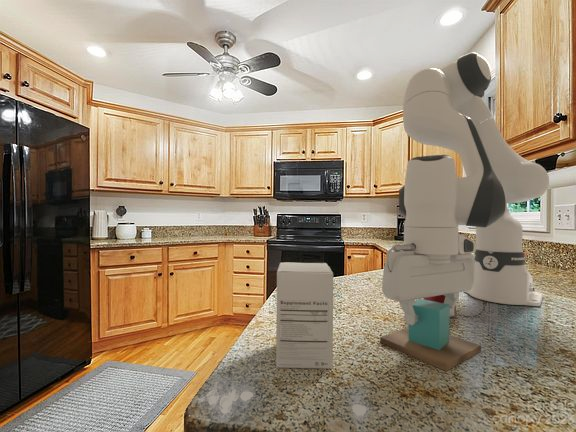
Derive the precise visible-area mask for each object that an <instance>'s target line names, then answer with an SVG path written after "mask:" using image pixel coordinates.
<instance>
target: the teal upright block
mask: <svg viewBox="0 0 576 432" xmlns="http://www.w3.org/2000/svg"><path fill="white" fill-rule="evenodd" d="M412 307H413V309H414V312H415V313H416V314H419V319H418V320H419V323H418V324H414V325H410V324H408V327H409V341H412V342H415V343H418V344H421V345H424V346H428V347H431V348H434V349H437V350H440V349H441V348H442V347H444V346H445V345H446V344H447V343H448V342H449V335H450V317H449V304H444V303H439V302H434V301H429V300H424V299H423V298H420V299H415V305H412Z"/></svg>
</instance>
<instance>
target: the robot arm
mask: <svg viewBox="0 0 576 432" xmlns="http://www.w3.org/2000/svg"><path fill="white" fill-rule="evenodd" d="M491 81H492V72H491V66H490V64H489V62H488V61H487V59H486V58H485V57H483V55H481V54H480V53H477V52H469V53H467V54H465V55H462V56H460V57H458V58H457V59H456V60H455V61H453V62H451V63H450V64H447V65H446V66H444V67H442V68H440V69H437V68H431V67H430V68H425V69H421V70H420V71H418V72H416V73H415V74H414V75H412V77H411V78H410V79H409V81H408V84H407V85H406V90H405V93H404V98H403V107H402V122H403V124H402V125H403V128H404V131H405V133H406V135H407V136H409V138H410V139H411V140H413V141H414V142H416V143H420V144H421V145H425V146H433V147H439V148H442V149H443V148H444V149H448V150H449V151H452V152H455V153H456V154H457V155H458V156H459V158H460V161H461V163H462V167H463V170H464V172H465V176H464V177H458V176H457V169H456V162H455V159H454V157H453V156H450V155H448V154H434V155H425V156H424V155H422V156H415V157H412V158H410V159H409V160H408V161H407V165H406V171H405V178H404V185H403V186H402V187H401V188H400V189H398V197H399V198H398V214H399V215H400V216H402V217H403V218H404V219H405V220H404V223H403V244H393V245H392V246H391V248H390V249H389V250H388V251H387V252H386V255H385V262H384V265H383V272H382V273H383V274H382V283H381V284H382V286H381V291H382V294H383V295H384V297H385V298H386V299H389V300H392V301H396V302H399V303H398V304H399V306H400V307H401V309H402V311H403V314H404V322H405V324H407V325H409V324H410V325H414V324H418V323H419V320H418V319H419V314H416V313H415V312H414V309H413V307H412V305H415V301H416V300H418V299H423V298H426V297H433V296H439V295H444V296H446V297H445V300H444V304H449V318H450V317H454V316H455V315H454V307H455V306H456V307H457V304H458V301H459V299H460V293H462V292H464V293H465V294H469V296H471V297H473V298H475V299H478V300H482V301H486V302H492V303H497V304H502V305H511V306H512V305H514V306H530V307H541V305H542V301H543V293H541V292H537V291H535V287H534V278H533V276H532V274H531V273H530V271H529V270H528V268H527V267H526V263H527V262H526V258H527V253H526V252H525V251H523V225H522V223H521V222H520V221H518V219H516V218H514V217H513V215H511V212H510V210H509V207H508V204H518V203H520V204H521V203H524V202H529V201H532V200H534V199H538V198H540V197H542V196H543V195H544V194H545V193H546V192H547V191H548V188H549V185H550V184H549V183H550V177H549V174H548V172H547V170H546V168H545V167H543V166H542V165H541V164H539V163H536V162H532V161H530V160H528V159H526V158H525V157H522V156H521V155H520V154H519V153H518V152H517V151H515V150H514V149H513V148H512V147H510V146H511V145H509V144H508V143H507V141H506V140H505V138H504V136H503V134H502V133H501V131H500V129H499V126H498V125H497V122H496V120H495V118H494V116H493V114H492V112H491V109H490V108H489V106H488V105H487V103H486V101H485V100H484V99H483V98H484V96H485V92H486V90H487V89H488V88H489V87H490V83H491ZM459 226H466V227H474V228H475V237H476V238H475V241H474V240H473V239H470V238H468V237H466V236H464V235H463V234H461V233H459Z"/></svg>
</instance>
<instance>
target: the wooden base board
mask: <svg viewBox="0 0 576 432" xmlns="http://www.w3.org/2000/svg"><path fill="white" fill-rule="evenodd" d="M379 343H380V344H383V345H385V346H387V347H390V348H392V349H394V350H397V351H399V352H400V353H403V354H405V355H408V356H410V357H413V358H414V359H417V360H420V361H422V362H424V363H426V364H429V365H431V366H433V367H435V368H438V369H441V370H443V371H445V372H448V371H449V370H451V369H452V368H454V367H456V366H458V365H460V364H462V363H464V362H465V361H466V360H468V359H470V358H471V357H473V356H475V355H477V354H478V353H481V352H482V344H478V343H475V342H472V341H469V340H466V339H462V338H460V337H456V336H454V335H452V334H451V335H450V334H449V342H448V343H447V344H446V345H445V346H444V347H442V348H441V349H440V350H437V349H434V348H431V347H428V346H424V345H421V344H418V343H415V342H412V341H409V326H407V327H404V328H402V329H399V330H396V331H393V332H391V333H388V334H386V335H382V336H380V337H379Z"/></svg>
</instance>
